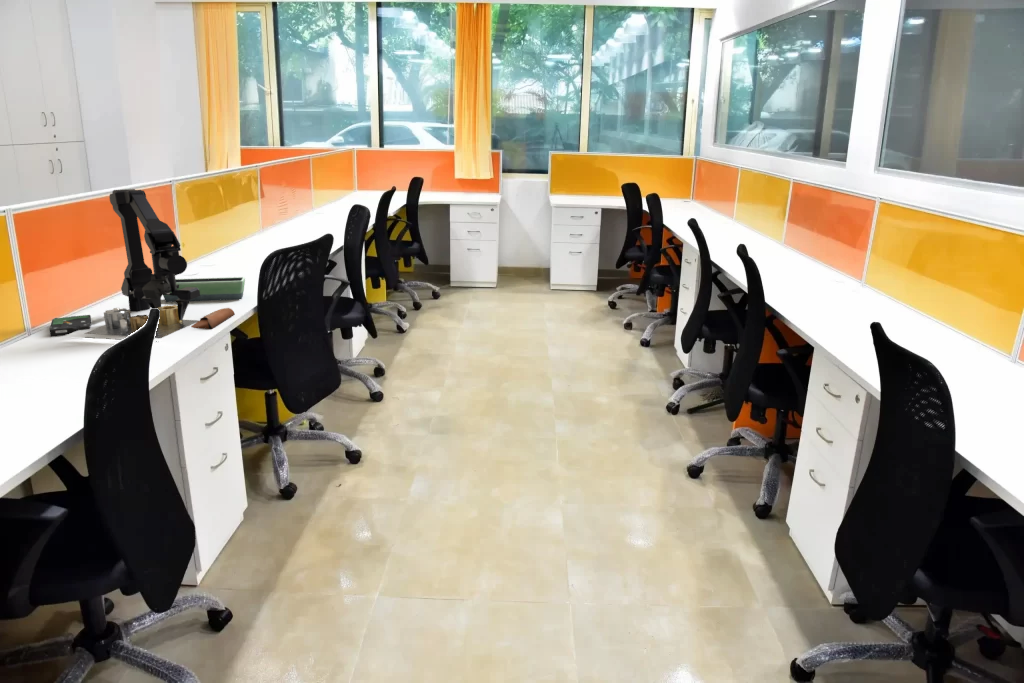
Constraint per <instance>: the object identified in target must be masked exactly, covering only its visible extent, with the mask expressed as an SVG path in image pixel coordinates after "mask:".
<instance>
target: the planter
mask: <svg viewBox="0 0 1024 683" xmlns="http://www.w3.org/2000/svg"><path fill="white" fill-rule="evenodd" d="M175 279H176V285H179V288H177V290H180V289H183V288H185V287H197V288H198V289H199V291H200V296H199V297H196V298H194V299H191V300H190V302H209V301H210V302H211V301H212V302H214V301H236V300H237V301H240V300H239V299H241V300H242V299H243V297H244V291H245V285H246V284H245V283H246V282H245V281H246V278H245V277H244V276H238V277H237V276H234V277H232V276H230V277H229V276H228V277H201V278H200V277H199V278H197V277H196V278H195V277H194V278H192V277H191V278H175ZM170 293H172V292H170ZM162 296H163V299H164V301H165V303H176V302H175V301H174V300H177V299H178V297H177V296H171V295H162Z"/></svg>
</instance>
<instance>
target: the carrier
mask: <svg viewBox="0 0 1024 683" xmlns="http://www.w3.org/2000/svg"><path fill="white" fill-rule="evenodd" d="M148 316H149V315H148V314H137V315H131V311H130V308H129V309H127V308H120V307H114V308H113V309H109V310H107V309H106V310H105V311H104V312H103V317H104V318H103V319H104V323H105V325H102V326H100V327H98V328H95V329H92V330H89V331H88V332H85V333H84V335H87V334H88V335H100V336H118V337H129V336H128V335H130V334H131V333H133V332H135V331H136V330H138V329H139V328H140V327H142V326H143V325H144V324H145V323H146V321H147V319H148ZM198 321H199V320H195V319H183V320H182V322H180V323H175V324H165V325H164V324H161V323H159V324H158V328H157V331H156V336H155V338H154V339H162V338H165V337H167V336H169V335H172V334H173V333H176V332H178V331H180V330H182V329H185V328H188V327H189V326H190V325H191V326H192V325H194V324H195V323H196V322H198ZM84 338H88V339H94V337H93V336H92V337H91V336H85V337H84ZM121 339H122V338H120V339H119V338H116V340H119V341H122V340H121ZM106 340H110V338H107V337H106ZM155 343H158V342H157V341H156V342H155Z"/></svg>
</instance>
